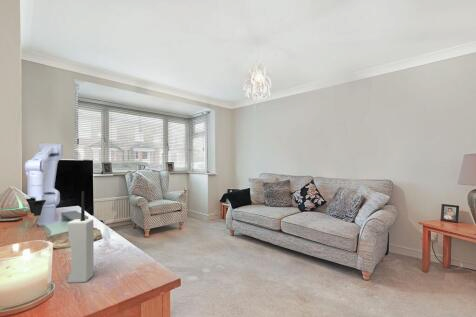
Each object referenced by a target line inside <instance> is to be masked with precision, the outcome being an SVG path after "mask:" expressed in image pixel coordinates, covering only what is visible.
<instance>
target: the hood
mask: <svg viewBox="0 0 476 317" xmlns="http://www.w3.org/2000/svg"><path fill="white" fill-rule="evenodd" d="M60 219H61V221H60V222H64V221H70V220H72V221H73V220H75V219H81V212H79V211H77V210H69V211H63V212H61V218H60ZM85 219H89V216H87V215H86V214H85Z"/></svg>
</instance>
